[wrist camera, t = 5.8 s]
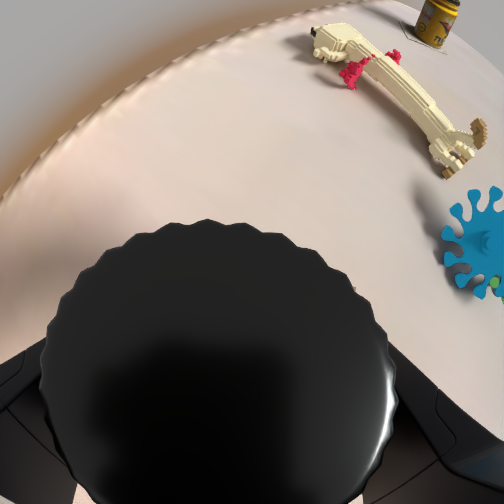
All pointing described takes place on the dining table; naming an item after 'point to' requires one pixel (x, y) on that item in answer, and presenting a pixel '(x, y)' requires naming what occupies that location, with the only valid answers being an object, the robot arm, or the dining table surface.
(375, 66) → the cat figure
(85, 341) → the supplement bottle
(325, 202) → the dining table surface
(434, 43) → the condiment
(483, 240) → the blue lumpy piece
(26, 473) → the robot arm
